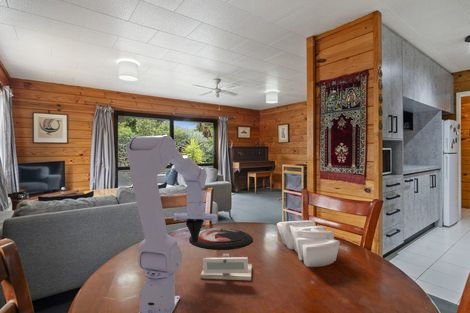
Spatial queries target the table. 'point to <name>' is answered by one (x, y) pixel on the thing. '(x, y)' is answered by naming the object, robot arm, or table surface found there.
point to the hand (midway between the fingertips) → (195, 241)
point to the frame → (225, 265)
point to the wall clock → (222, 239)
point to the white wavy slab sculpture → (309, 242)
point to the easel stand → (229, 274)
